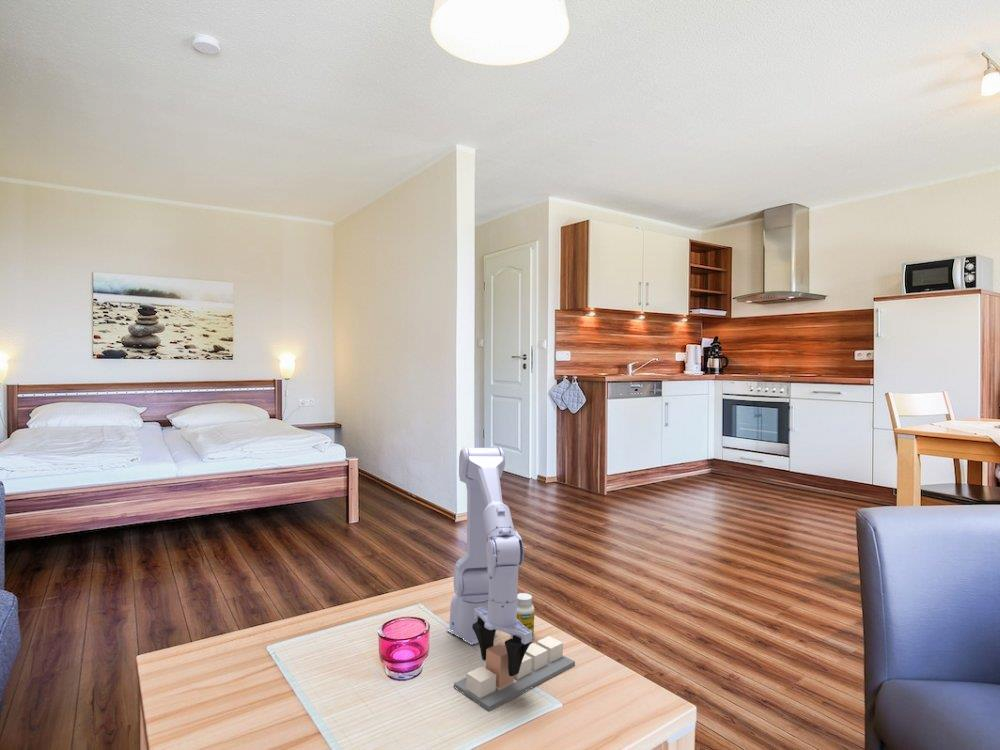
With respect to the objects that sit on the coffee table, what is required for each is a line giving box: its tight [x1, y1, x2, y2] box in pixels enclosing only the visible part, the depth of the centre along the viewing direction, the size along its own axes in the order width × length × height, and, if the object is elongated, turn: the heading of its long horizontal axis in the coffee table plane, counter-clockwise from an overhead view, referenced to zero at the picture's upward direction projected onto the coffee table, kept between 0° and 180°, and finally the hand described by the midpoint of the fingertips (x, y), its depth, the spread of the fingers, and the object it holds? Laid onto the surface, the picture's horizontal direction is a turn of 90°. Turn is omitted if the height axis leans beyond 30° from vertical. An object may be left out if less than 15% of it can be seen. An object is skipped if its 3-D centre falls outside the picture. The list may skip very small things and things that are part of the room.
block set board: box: [453, 635, 576, 712], centre depth 113 cm, size 10×25×4 cm, turn 134°
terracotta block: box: [485, 642, 514, 688], centre depth 110 cm, size 4×4×6 cm
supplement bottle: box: [510, 592, 536, 640], centre depth 130 cm, size 5×5×10 cm
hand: (500, 666), depth 110 cm, fingers open, 7 cm apart
